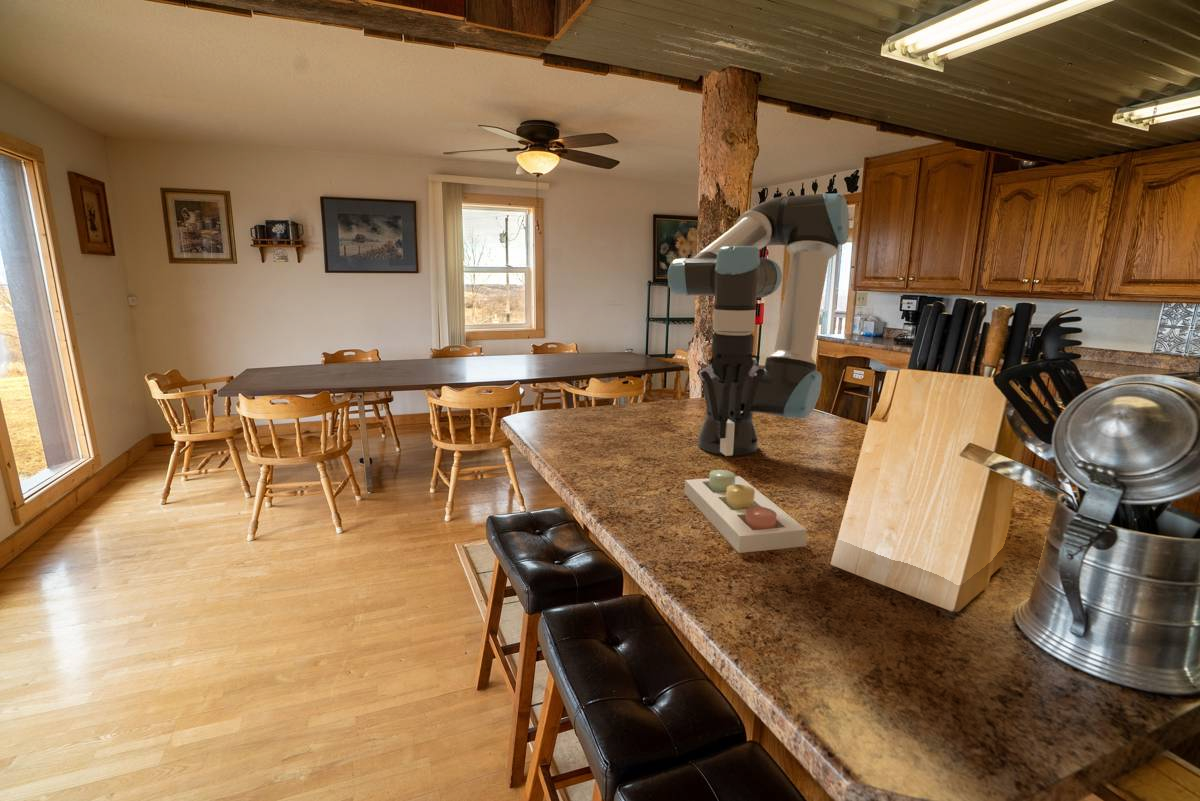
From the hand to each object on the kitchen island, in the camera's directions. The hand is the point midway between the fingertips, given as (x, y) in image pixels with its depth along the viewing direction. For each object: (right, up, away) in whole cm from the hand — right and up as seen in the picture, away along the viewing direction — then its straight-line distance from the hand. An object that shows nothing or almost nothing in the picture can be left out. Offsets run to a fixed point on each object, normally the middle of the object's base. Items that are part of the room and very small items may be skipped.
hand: (726, 453), depth 108 cm
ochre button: (+1, -9, -6) cm, 11 cm away
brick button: (+3, -12, -13) cm, 18 cm away
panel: (+1, -11, -5) cm, 13 cm away
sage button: (0, -7, +2) cm, 7 cm away
